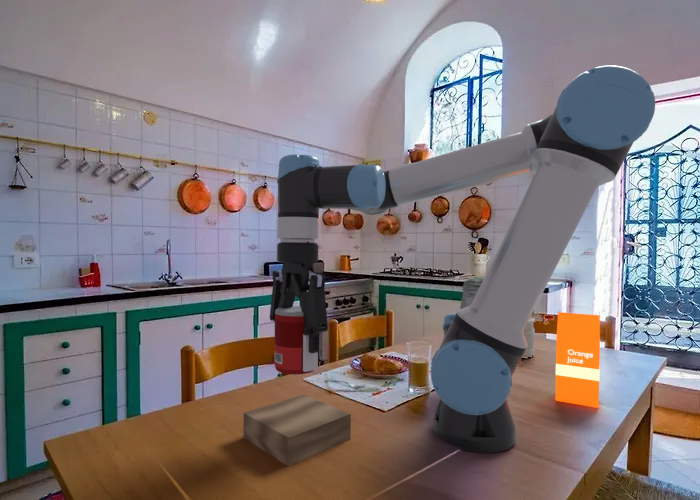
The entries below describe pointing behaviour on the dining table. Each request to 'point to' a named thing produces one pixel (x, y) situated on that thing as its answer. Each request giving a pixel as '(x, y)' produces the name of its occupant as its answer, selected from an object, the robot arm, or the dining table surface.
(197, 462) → the dining table surface
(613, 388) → the dining table surface
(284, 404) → the walnut block
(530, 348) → the jar
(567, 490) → the dining table surface
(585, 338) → the orange juice
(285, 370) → the canned food
